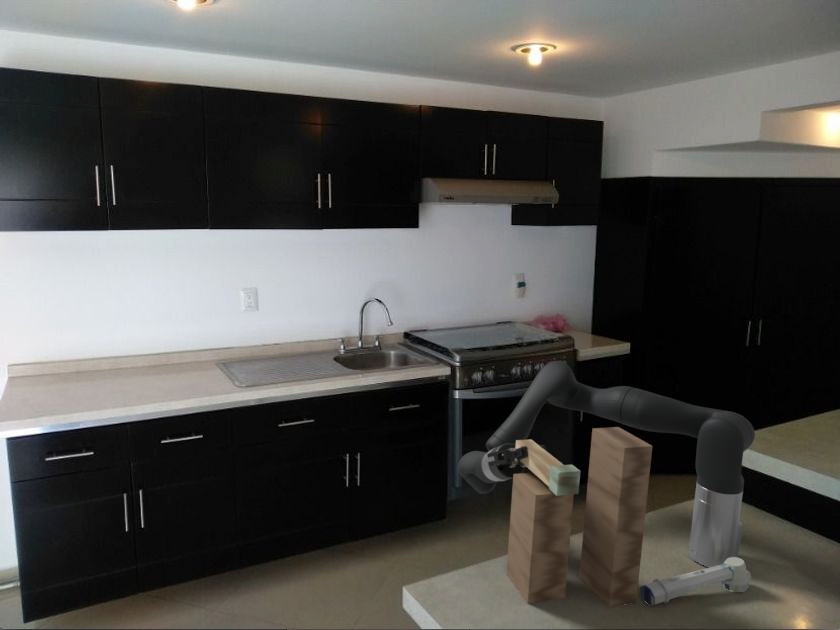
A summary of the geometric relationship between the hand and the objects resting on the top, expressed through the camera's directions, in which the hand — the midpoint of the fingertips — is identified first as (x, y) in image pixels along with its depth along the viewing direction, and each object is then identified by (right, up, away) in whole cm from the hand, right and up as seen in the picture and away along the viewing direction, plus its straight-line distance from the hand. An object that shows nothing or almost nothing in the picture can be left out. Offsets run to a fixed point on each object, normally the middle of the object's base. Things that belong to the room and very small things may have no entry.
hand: (535, 450), depth 126 cm
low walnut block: (0, -27, 0) cm, 27 cm away
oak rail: (+1, -4, -3) cm, 5 cm away
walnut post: (+14, -28, 0) cm, 32 cm away
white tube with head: (+32, -29, 0) cm, 44 cm away
